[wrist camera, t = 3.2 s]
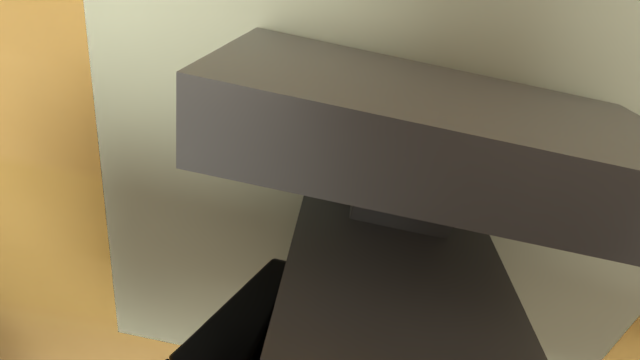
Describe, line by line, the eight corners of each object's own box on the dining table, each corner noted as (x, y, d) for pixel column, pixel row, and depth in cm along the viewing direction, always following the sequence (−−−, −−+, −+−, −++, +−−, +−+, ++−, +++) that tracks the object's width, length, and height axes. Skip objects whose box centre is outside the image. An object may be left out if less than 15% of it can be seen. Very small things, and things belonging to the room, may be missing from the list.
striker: (478, 344, 11) (585, 702, 6) (230, 292, 11) (103, 600, 6) (619, 104, 7) (1247, 442, 2) (256, 27, 7) (-12, 176, 2)
